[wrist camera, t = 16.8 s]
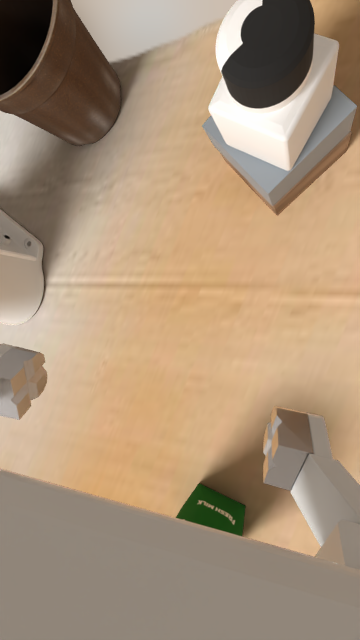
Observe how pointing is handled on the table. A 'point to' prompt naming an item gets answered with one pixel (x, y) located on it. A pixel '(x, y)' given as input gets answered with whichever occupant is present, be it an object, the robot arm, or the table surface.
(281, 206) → the tower base block
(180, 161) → the table surface
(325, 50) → the medicine bottle
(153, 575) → the robot arm
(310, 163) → the tower top block
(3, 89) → the plant pot
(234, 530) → the milk carton
